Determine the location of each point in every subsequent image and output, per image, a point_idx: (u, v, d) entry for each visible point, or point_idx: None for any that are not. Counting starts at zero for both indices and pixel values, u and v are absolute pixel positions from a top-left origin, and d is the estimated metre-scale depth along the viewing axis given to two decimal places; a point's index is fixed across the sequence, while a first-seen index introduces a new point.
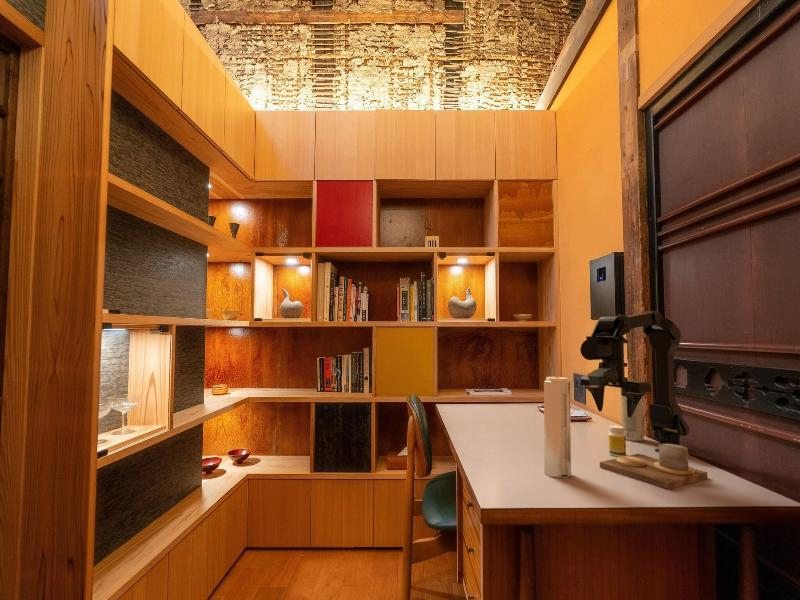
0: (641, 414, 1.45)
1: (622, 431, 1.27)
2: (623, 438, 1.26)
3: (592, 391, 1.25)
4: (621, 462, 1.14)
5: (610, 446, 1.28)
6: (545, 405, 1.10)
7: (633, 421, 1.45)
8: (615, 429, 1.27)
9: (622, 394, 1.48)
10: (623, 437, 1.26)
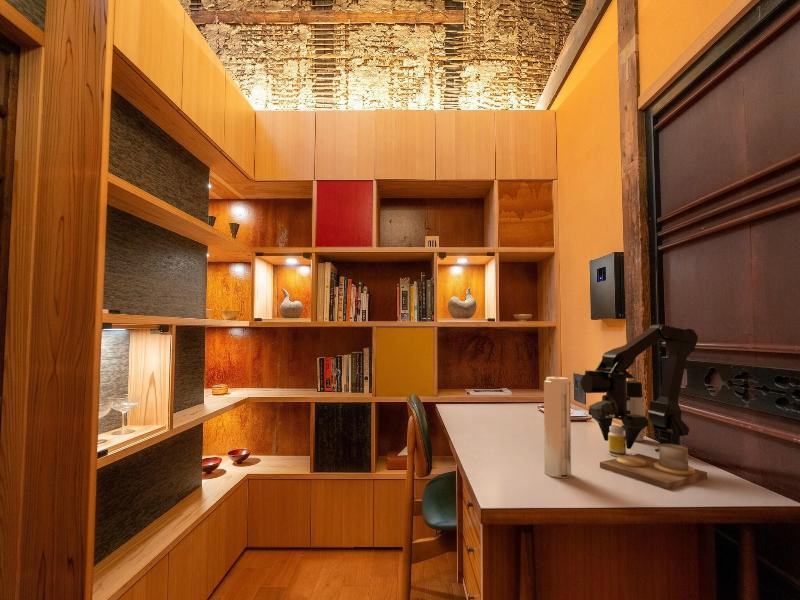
0: (641, 414, 1.45)
1: (622, 431, 1.27)
2: (623, 438, 1.26)
3: (598, 422, 1.34)
4: (621, 462, 1.14)
5: (610, 446, 1.28)
6: (545, 405, 1.10)
7: None
8: (615, 429, 1.27)
9: None
10: (623, 437, 1.26)
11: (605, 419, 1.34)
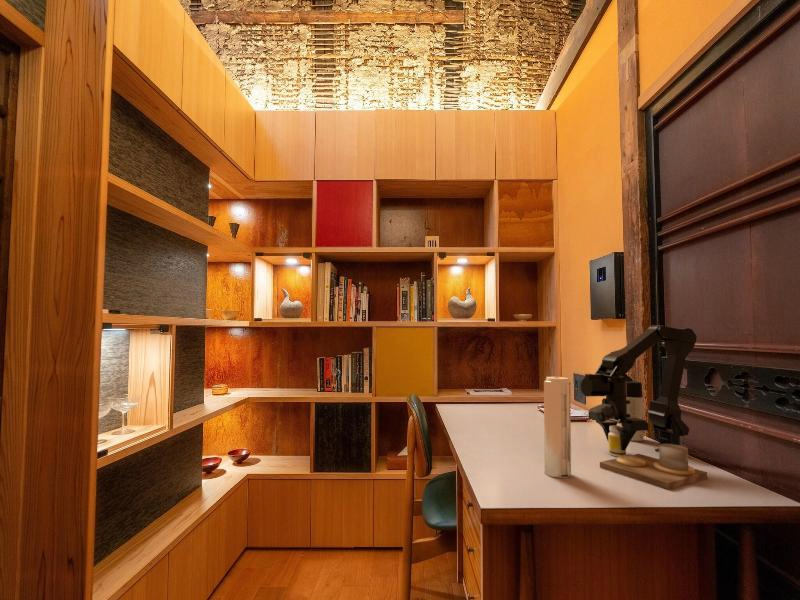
0: (641, 414, 1.45)
1: None
2: None
3: (603, 426, 1.32)
4: (621, 462, 1.14)
5: (610, 446, 1.28)
6: (545, 405, 1.10)
7: None
8: (615, 429, 1.27)
9: None
10: None
11: (610, 424, 1.32)
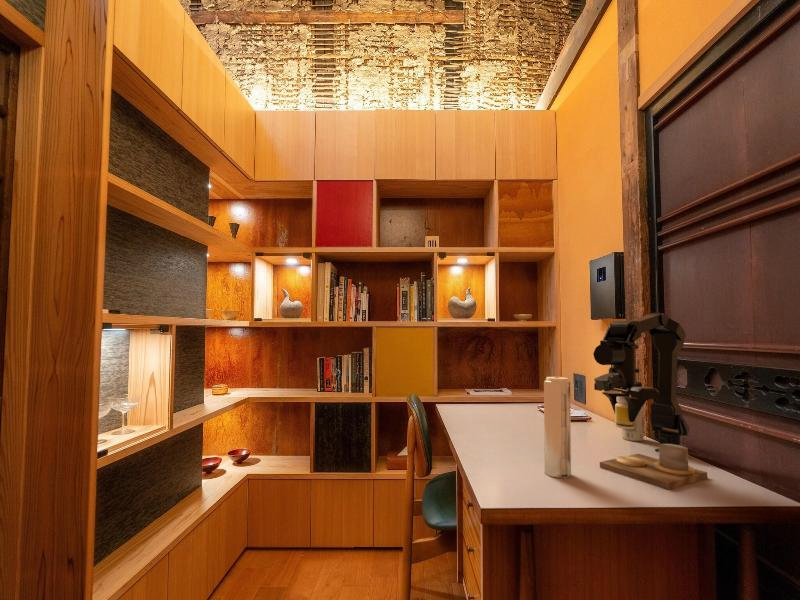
0: (641, 414, 1.45)
1: None
2: None
3: (610, 398, 1.23)
4: (621, 462, 1.14)
5: (617, 418, 1.19)
6: (545, 405, 1.10)
7: None
8: (622, 399, 1.18)
9: None
10: None
11: (617, 395, 1.23)
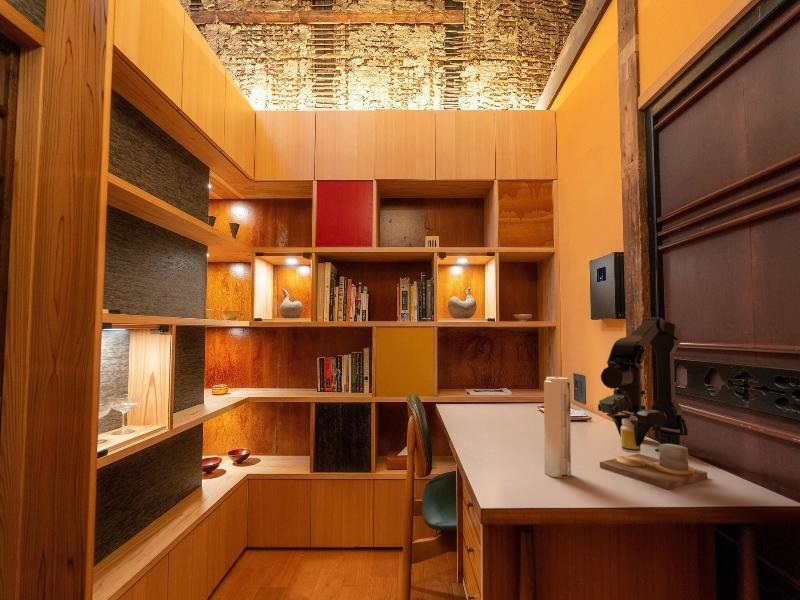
0: None
1: None
2: None
3: (615, 419, 1.19)
4: (621, 462, 1.14)
5: (622, 441, 1.15)
6: (545, 405, 1.10)
7: None
8: (628, 422, 1.14)
9: None
10: None
11: (622, 417, 1.19)
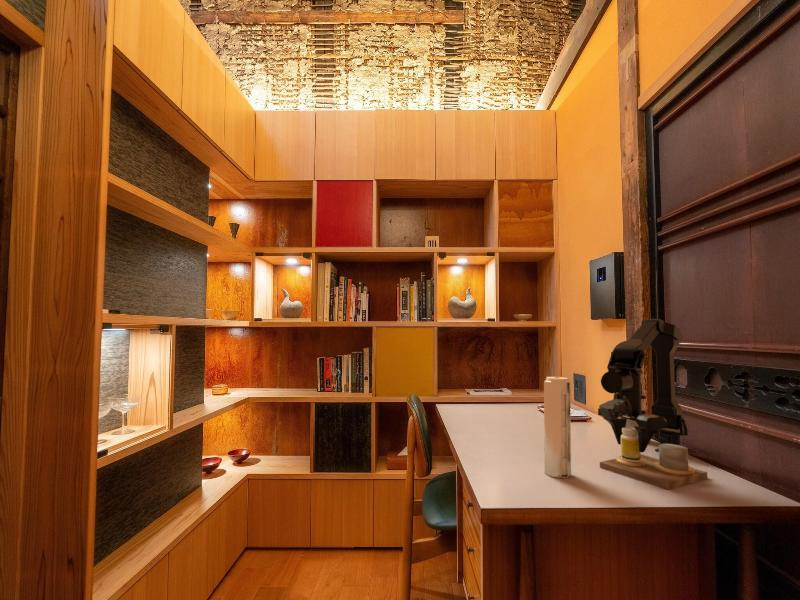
0: None
1: (636, 434, 1.14)
2: (637, 441, 1.13)
3: (611, 423, 1.20)
4: (621, 462, 1.14)
5: (622, 450, 1.15)
6: (545, 405, 1.10)
7: (633, 421, 1.45)
8: (628, 431, 1.14)
9: None
10: (637, 440, 1.13)
11: (618, 420, 1.20)
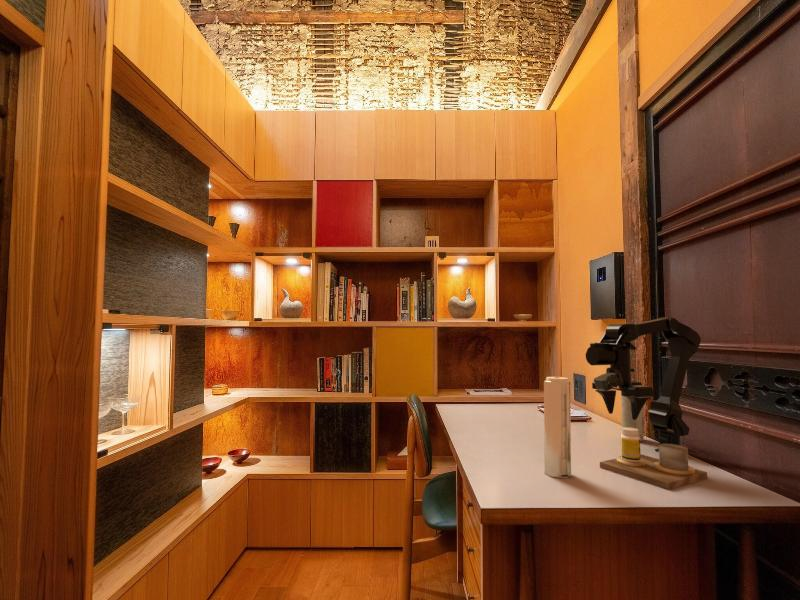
0: (641, 414, 1.45)
1: (636, 434, 1.14)
2: (637, 441, 1.13)
3: (602, 395, 1.33)
4: (621, 462, 1.14)
5: (622, 450, 1.15)
6: (545, 405, 1.10)
7: (633, 421, 1.45)
8: (628, 431, 1.14)
9: (622, 394, 1.48)
10: (637, 440, 1.13)
11: (609, 392, 1.33)
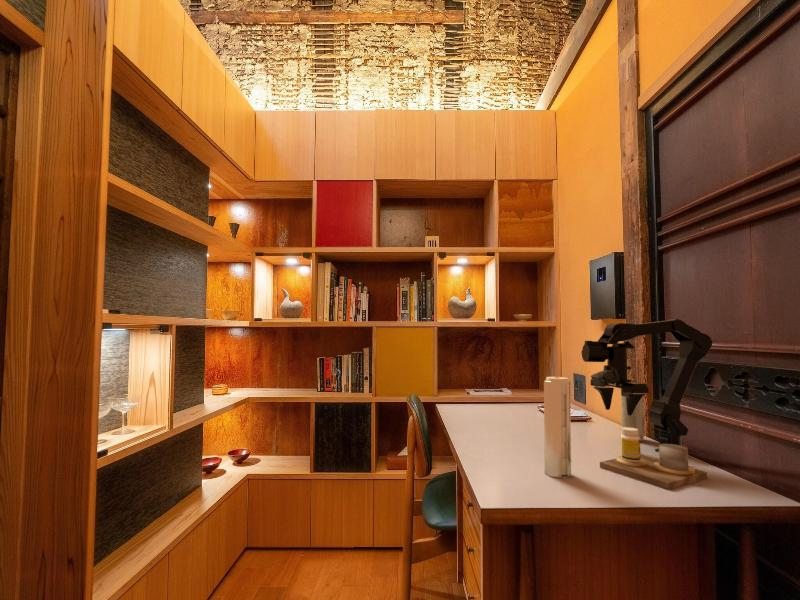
0: (641, 414, 1.45)
1: (636, 434, 1.14)
2: (637, 441, 1.13)
3: (600, 391, 1.38)
4: (621, 462, 1.14)
5: (622, 450, 1.15)
6: (545, 405, 1.10)
7: (633, 421, 1.45)
8: (628, 431, 1.14)
9: (622, 394, 1.48)
10: (637, 440, 1.13)
11: (606, 389, 1.38)
